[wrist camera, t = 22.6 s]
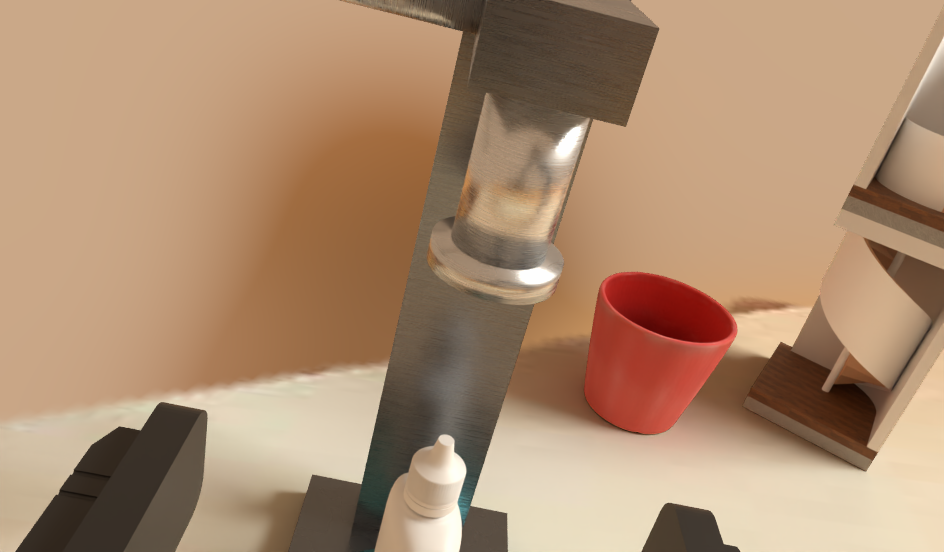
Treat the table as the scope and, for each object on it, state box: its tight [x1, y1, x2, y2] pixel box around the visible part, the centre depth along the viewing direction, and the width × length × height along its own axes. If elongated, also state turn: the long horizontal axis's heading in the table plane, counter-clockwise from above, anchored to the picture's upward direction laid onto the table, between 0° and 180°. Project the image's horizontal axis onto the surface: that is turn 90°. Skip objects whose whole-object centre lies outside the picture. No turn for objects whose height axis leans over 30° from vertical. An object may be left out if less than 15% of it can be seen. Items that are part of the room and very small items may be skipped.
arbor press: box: [288, 0, 659, 552], centre depth 31 cm, size 18×25×32 cm
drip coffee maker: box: [743, 6, 944, 471], centre depth 61 cm, size 11×11×35 cm
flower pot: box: [584, 272, 737, 434], centre depth 60 cm, size 11×11×10 cm
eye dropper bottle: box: [374, 435, 466, 552], centre depth 35 cm, size 4×6×12 cm
